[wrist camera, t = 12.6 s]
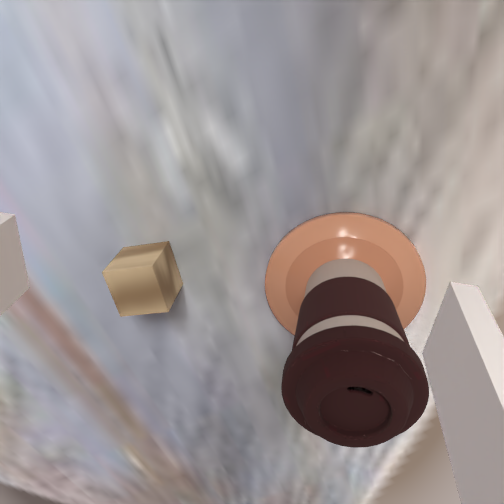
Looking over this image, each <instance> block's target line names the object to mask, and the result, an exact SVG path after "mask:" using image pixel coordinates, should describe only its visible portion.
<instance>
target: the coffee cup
mask: <svg viewBox="0 0 504 504" xmlns="http://www.w3.org/2000/svg"><path fill="white" fill-rule="evenodd" d="M282 396H283V400H284V403H285V406H286V408H287V409H288V411H289V413H290V414H291V416H292V417H293V418H294V419H295V420H296V421H297V422H298V423H299V424H300V425H301V426H303V427H304V428H305V429H307V430H308V431H310V432H312V433H314V434H315V435H318V436H320V437H322V438H324V439H325V440H327V441H329V442H332V443H334V444H338V445H341V446H347V447H369V446H374V445H378V444H381V443H384V442H386V441H388V440H390V439H391V438H393V437H394V436H397V435H399V434H401V433H403V432H404V431H406V430H407V429H409V428H410V427H411V426H412V425H413V424H414V423H416V422H417V420H418V419H419V418H420V417H421V415H422V414H423V412H424V410H425V408H426V405H427V402H428V398H429V387H428V381H427V378H426V374H425V371H424V368H423V365H422V363H421V361H420V359H419V357H418V356H417V354H416V353H415V352H414V350H413V349H412V348H411V347H410V346H409V343H408V340H407V337H406V335H405V332H404V329H403V327H402V324H401V321H400V319H399V316H398V314H397V311H396V308H395V306H394V303H393V301H392V299H391V298H390V296H389V295H388V294H387V292H386V289H385V286H384V283H383V281H382V279H381V277H380V275H379V274H378V273H377V272H376V271H375V270H374V269H373V268H372V267H371V266H369V265H368V264H366V263H364V262H362V261H358V260H355V259H337V260H332V261H329V262H327V263H325V264H323V265H321V266H320V267H319V268H317V269H316V270H315V271H314V272H313V274H312V275H311V276H310V278H309V280H308V282H307V285H306V290H305V296H304V299H303V301H302V303H301V307H300V310H299V315H298V321H297V326H296V331H295V337H294V342H293V347H292V352H291V353H290V355H289V357H288V358H287V360H286V363H285V366H284V370H283V377H282Z"/></svg>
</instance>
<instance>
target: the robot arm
mask: <svg viewBox="0 0 504 504" xmlns="http://www.w3.org/2000/svg"><path fill="white" fill-rule="evenodd" d="M29 288H30V285H29V280H28V275H27V271H26V266H25V261H24V256H23V251H22V247H21V242H20V237H19V232H18V227H17V223H16V218H15V214H8V213H2V212H0V316H1V315H2V314H3V313H4V312H5V311H6V310H7V309H8V308H9V307H10V306H11V305H12V304H13V303H14V302H15V301H16V300H17V299H18V298H19V297H21V296H22V295H23V294H24V293H25V292H26V291H27V290H28V289H29ZM422 354H423V358H424V362H425V365H426V369H427V373H428V377H429V381H430V385H431V389H432V393H433V396H434V400H435V404H436V408H437V412H438V416H439V420H440V424H441V427H442V431H443V435H444V439H445V443H446V447H447V451H448V455H449V458H450V462H451V466H452V470H453V474H454V478H455V482H456V486H457V489H458V493H459V497H460V501H461V504H504V336H503V334H502V333H501V331H500V329H499V327H498V325H497V323H496V321H495V319H494V317H493V315H492V313H491V311H490V309H489V307H488V305H487V303H486V301H485V299H484V297H483V295H482V293H481V291H480V289H479V287H478V286H475V285H469V284H462V283H456V282H450V283H449V286H448V288H447V291H446V294H445V296H444V299H443V301H442V304H441V306H440V309H439V312H438V314H437V317H436V319H435V322H434V325H433V327H432V330H431V332H430V335H429V337H428V340H427V343H426V345H425V348H424V350H423V353H422Z"/></svg>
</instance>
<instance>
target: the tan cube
mask: <svg viewBox="0 0 504 504" xmlns="http://www.w3.org/2000/svg"><path fill="white" fill-rule="evenodd" d="M102 274H103V276H104V278H105V281H106V283H107V285H108V288H109V290H110V293H111V295H112V297H113V300H114V302H115V305H116V307H117V309H118V312H119V314H120V316H121V317H122V316H132V315H142V314H152V313H162V312H169V310H170V308H171V306H172V304H173V302H174V301H175V299H176V297H177V295H178V293H179V291H180V289H181V287H182V285H183V282H182V279H181V276H180V273H179V270H178V267H177V264H176V261H175V258H174V255H173V252H172V249H171V246H170V243H169V241H167V242H160V243H152V244H145V245H138V246H131V247H123V248H122V250H121V251H120V252H119V253H118V254H117V255H116V257H115V258H114V259H113V260H112V261H111V262H110V264H109V265H108V266H107V267H106V268H105V269H104V271H103V272H102Z"/></svg>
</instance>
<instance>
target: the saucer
mask: <svg viewBox="0 0 504 504" xmlns="http://www.w3.org/2000/svg"><path fill="white" fill-rule="evenodd" d="M337 259H355V260H358V261H362V262H364V263H366V264H368V265H369V266H371V267H372V268H373V269H374V270H375V271H376V272H377V273H378V274H379V275H380V277H381V279H382V281H383V283H384V286H385V289H386V292H387V294H388V295H389V296H390V298H391V299H392V301H393V303H394V306H395V308H396V311H397V314H398V316H399V319H400V321H401V324H402V327H403V329H405V328H406V327H407V326H408V325H409V324H410V322H411V321H412V320H413V319H414V317H415V316H416V314H417V313H418V311H419V309H420V307H421V305H422V303H423V299H424V296H425V290H426V276H425V271H424V267H423V264H422V261H421V259H420V256H419V254H418V252H417V250H416V248H415V247H414V245H413V244H412V242H411V241H410V240H409V239H408V237H406V236H405V235H404V234H403V233H402V232H401V231H400V230H399V229H397V228H396V227H394V226H393V225H391V224H389V223H388V222H386V221H384V220H382V219H379V218H376V217H373V216H370V215H366V214H361V213H352V212H339V213H331V214H326V215H322V216H318V217H315V218H312V219H310V220H307V221H305V222H304V223H302V224H300V225H298V226H297V227H295V228H294V229H292V230H291V231H290V232H289V233H288V234H287V235H285V236H284V237H283V238H282V240H281V241H280V242H279V243H278V245H277V246H276V248H275V249H274V251H273V253H272V255H271V257H270V260H269V263H268V267H267V271H266V277H265V292H266V296H267V301H268V303H269V306H270V308H271V310H272V312H273V314H274V315H275V317H276V318H277V320H278V321H279V322H280V323H281V324H282V325H283V326H284V327H285V328H286V329H287V330H288V331H289V332H290V333H292V334H293V335H295V331H296V326H297V321H298V315H299V310H300V307H301V303H302V301H303V299H304V296H305V290H306V285H307V282H308V280H309V278H310V276H311V275H312V274H313V272H314V271H315V270H316V269H317V268H319V267H320V266H321V265H323V264H325V263H327V262H329V261H332V260H337Z"/></svg>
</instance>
